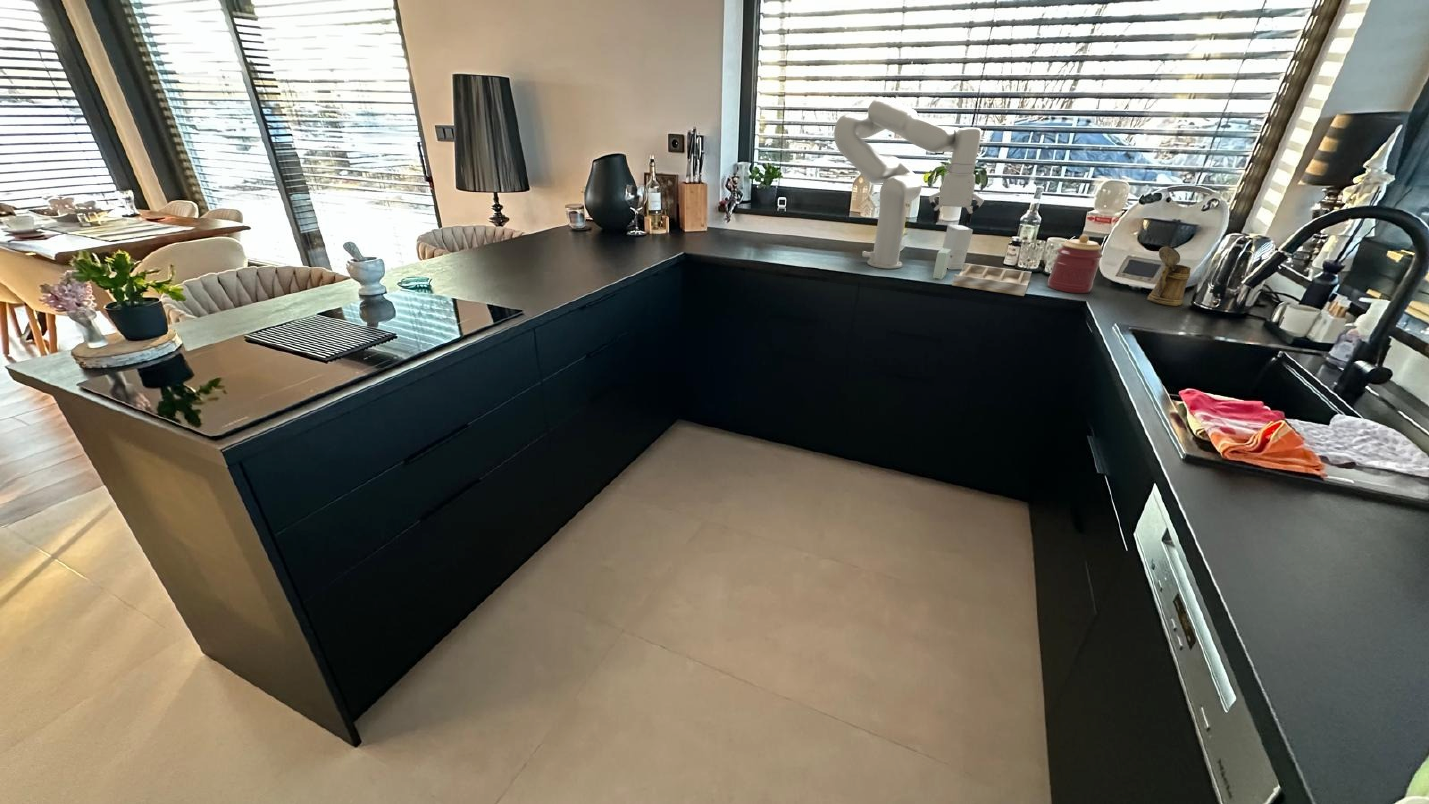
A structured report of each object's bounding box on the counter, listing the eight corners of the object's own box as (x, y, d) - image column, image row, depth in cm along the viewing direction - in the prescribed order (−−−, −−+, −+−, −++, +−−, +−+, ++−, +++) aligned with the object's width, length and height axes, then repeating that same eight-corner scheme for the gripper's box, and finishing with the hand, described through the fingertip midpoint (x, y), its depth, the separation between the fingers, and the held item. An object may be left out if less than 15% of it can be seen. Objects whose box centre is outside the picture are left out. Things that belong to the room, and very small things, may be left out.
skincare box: (938, 264, 213) (946, 224, 207) (952, 264, 214) (961, 224, 207) (949, 269, 206) (958, 228, 199) (964, 269, 207) (973, 228, 200)
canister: (1049, 281, 195) (1064, 229, 186) (1092, 287, 188) (1110, 234, 180) (1043, 289, 185) (1060, 234, 177) (1088, 296, 179) (1107, 240, 170)
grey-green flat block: (932, 278, 195) (937, 252, 191) (937, 273, 201) (942, 248, 197) (941, 279, 194) (946, 253, 190) (945, 274, 200) (951, 249, 196)
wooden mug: (1130, 300, 175) (1152, 242, 167) (1159, 296, 180) (1182, 239, 171) (1158, 308, 168) (1183, 248, 160) (1188, 304, 172) (1213, 245, 164)
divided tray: (951, 285, 187) (953, 274, 186) (961, 272, 203) (964, 263, 201) (1023, 295, 177) (1026, 285, 176) (1028, 282, 193) (1031, 272, 191)
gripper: (931, 169, 182) (922, 223, 190) (988, 171, 174) (976, 228, 182) (936, 167, 188) (927, 220, 196) (991, 170, 180) (979, 224, 188)
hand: (951, 223), depth 189 cm, fingers open, 9 cm apart
